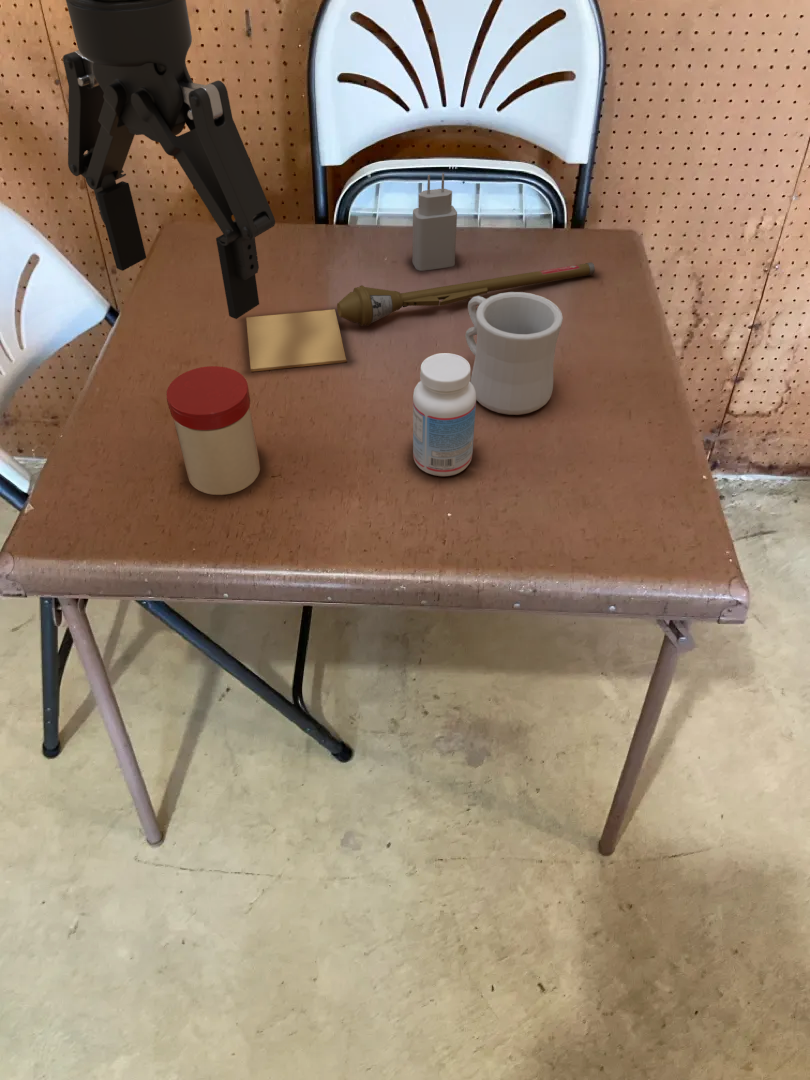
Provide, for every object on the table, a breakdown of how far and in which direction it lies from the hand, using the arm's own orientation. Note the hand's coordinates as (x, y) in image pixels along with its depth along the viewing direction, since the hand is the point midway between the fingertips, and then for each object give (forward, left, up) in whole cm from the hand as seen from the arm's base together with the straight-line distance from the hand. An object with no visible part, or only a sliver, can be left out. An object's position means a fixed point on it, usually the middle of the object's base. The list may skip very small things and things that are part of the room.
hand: (186, 286), depth 70 cm
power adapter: (+29, +37, -21) cm, 52 cm away
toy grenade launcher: (+32, +27, -21) cm, 47 cm away
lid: (0, 0, -11) cm, 11 cm away
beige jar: (0, 0, -20) cm, 20 cm away
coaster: (+9, +22, -20) cm, 31 cm away
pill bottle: (+22, -2, -21) cm, 30 cm away
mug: (+31, +9, -21) cm, 38 cm away
